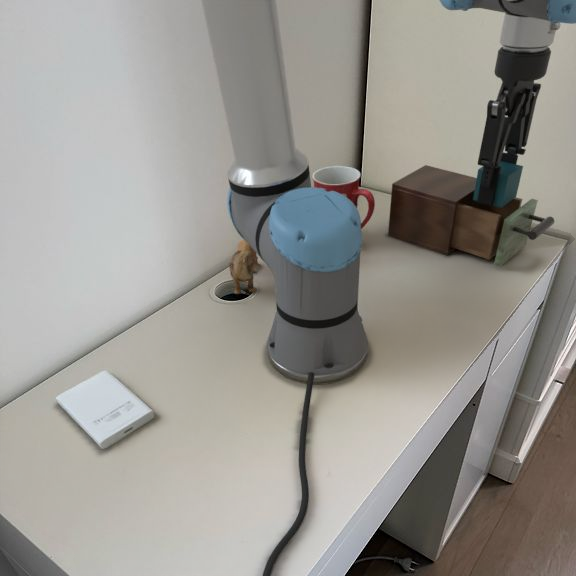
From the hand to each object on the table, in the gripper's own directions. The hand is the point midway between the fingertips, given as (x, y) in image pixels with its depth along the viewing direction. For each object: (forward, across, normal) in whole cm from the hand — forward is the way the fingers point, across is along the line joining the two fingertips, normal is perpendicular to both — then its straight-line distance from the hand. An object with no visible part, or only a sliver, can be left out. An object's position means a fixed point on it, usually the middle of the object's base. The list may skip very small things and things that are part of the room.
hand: (493, 196), depth 97 cm
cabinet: (+11, 0, +11) cm, 15 cm away
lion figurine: (+11, -36, +27) cm, 46 cm away
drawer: (+10, 0, -2) cm, 10 cm away
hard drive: (+11, -72, +18) cm, 75 cm away
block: (0, 0, 0) cm, 0 cm away
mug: (+11, -14, +23) cm, 29 cm away
